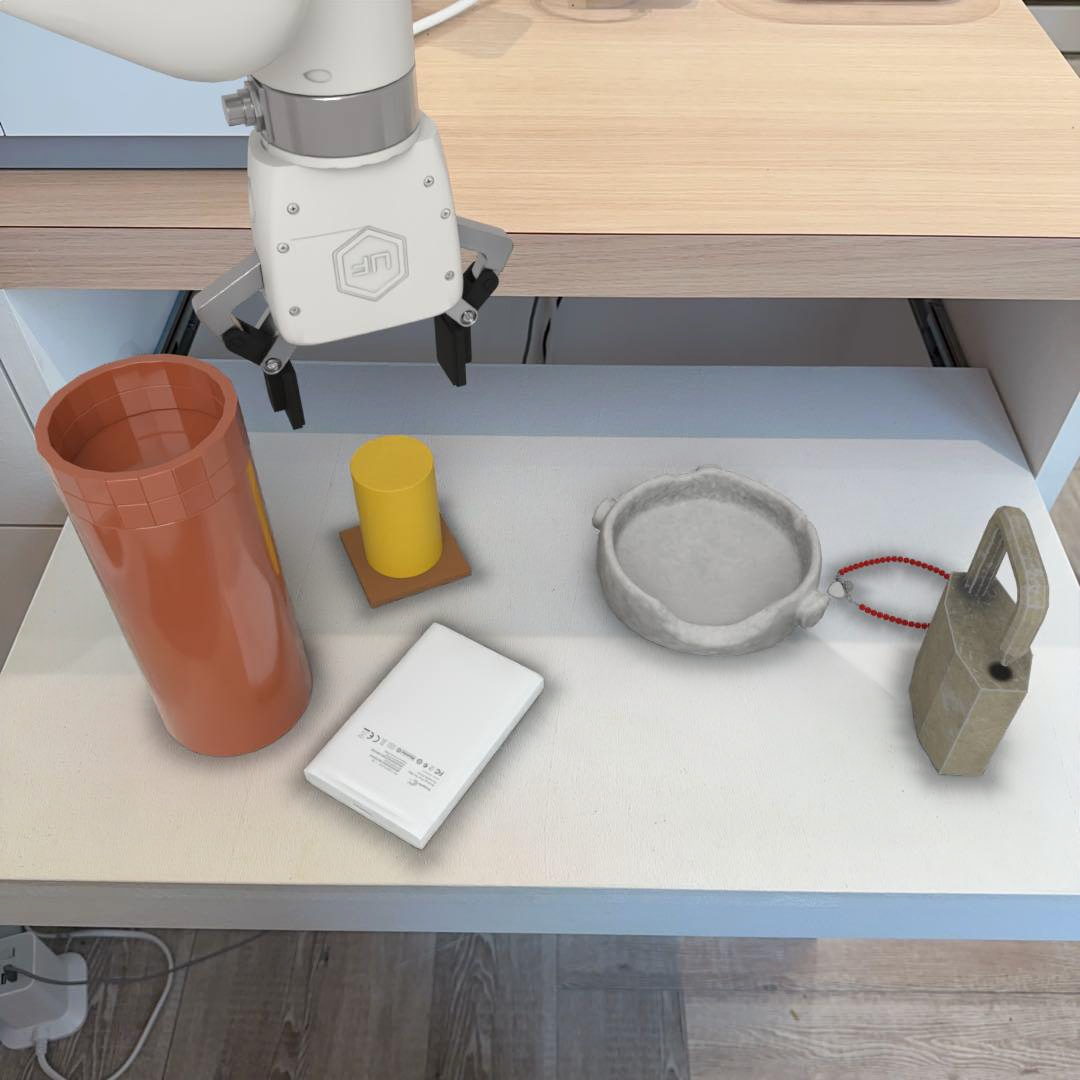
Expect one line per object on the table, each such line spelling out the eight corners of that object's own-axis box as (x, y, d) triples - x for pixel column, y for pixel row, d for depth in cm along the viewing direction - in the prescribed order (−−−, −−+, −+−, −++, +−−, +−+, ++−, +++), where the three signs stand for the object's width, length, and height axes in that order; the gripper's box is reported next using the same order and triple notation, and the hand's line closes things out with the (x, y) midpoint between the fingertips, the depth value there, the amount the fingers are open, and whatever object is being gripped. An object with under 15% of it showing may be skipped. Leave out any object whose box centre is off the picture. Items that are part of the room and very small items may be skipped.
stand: (178, 779, 61) (47, 504, 45) (149, 663, 67) (24, 383, 51) (330, 724, 64) (257, 445, 48) (290, 617, 70) (213, 335, 54)
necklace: (824, 617, 69) (827, 607, 68) (826, 549, 73) (829, 539, 72) (964, 638, 68) (969, 628, 67) (959, 568, 72) (963, 558, 71)
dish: (845, 645, 68) (862, 594, 64) (634, 692, 65) (640, 641, 62) (755, 491, 77) (766, 438, 74) (569, 527, 75) (570, 474, 71)
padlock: (924, 773, 61) (1005, 603, 50) (902, 659, 67) (970, 483, 56) (995, 778, 61) (1092, 608, 50) (967, 662, 67) (1048, 487, 56)
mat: (371, 608, 70) (370, 602, 70) (339, 537, 74) (338, 531, 74) (471, 575, 72) (471, 569, 72) (435, 507, 76) (434, 501, 76)
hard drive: (544, 692, 65) (422, 852, 58) (434, 636, 68) (306, 782, 61) (544, 676, 64) (420, 837, 57) (433, 619, 67) (301, 766, 60)
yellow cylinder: (379, 588, 70) (364, 500, 65) (355, 536, 74) (339, 448, 68) (454, 563, 72) (445, 476, 66) (427, 513, 75) (417, 425, 69)
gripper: (165, 172, 45) (241, 473, 58) (539, 103, 51) (536, 394, 63) (134, 101, 50) (211, 393, 62) (479, 45, 55) (487, 325, 68)
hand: (374, 393), depth 63 cm, fingers open, 9 cm apart
